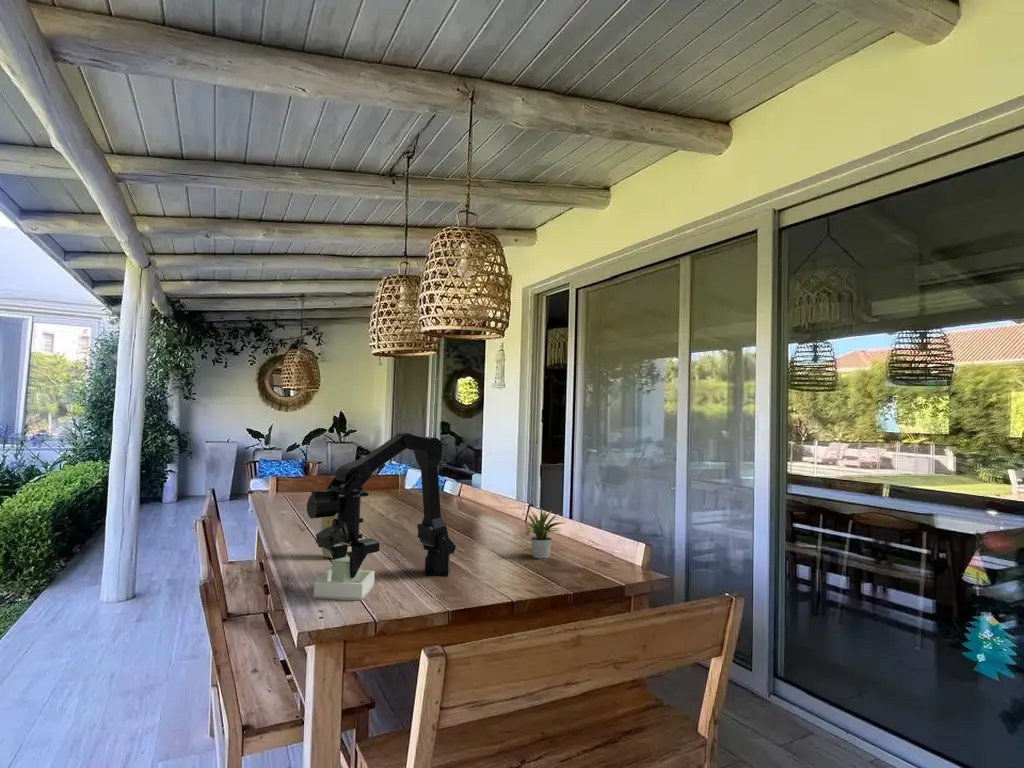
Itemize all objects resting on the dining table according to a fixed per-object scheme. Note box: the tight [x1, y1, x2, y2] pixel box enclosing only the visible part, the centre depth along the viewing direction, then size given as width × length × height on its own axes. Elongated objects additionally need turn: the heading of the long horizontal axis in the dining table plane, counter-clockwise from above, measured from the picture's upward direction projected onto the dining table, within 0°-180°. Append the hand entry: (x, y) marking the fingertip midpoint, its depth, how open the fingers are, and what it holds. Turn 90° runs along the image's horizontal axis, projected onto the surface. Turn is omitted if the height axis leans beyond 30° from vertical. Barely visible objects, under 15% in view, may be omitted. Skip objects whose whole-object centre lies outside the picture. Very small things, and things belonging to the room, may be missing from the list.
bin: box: [313, 568, 376, 602], centre depth 154 cm, size 12×12×4 cm
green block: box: [331, 556, 361, 583], centre depth 154 cm, size 5×5×5 cm
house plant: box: [522, 507, 565, 559], centre depth 196 cm, size 14×14×16 cm
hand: (345, 575), depth 154 cm, fingers closed on green block, 5 cm apart
